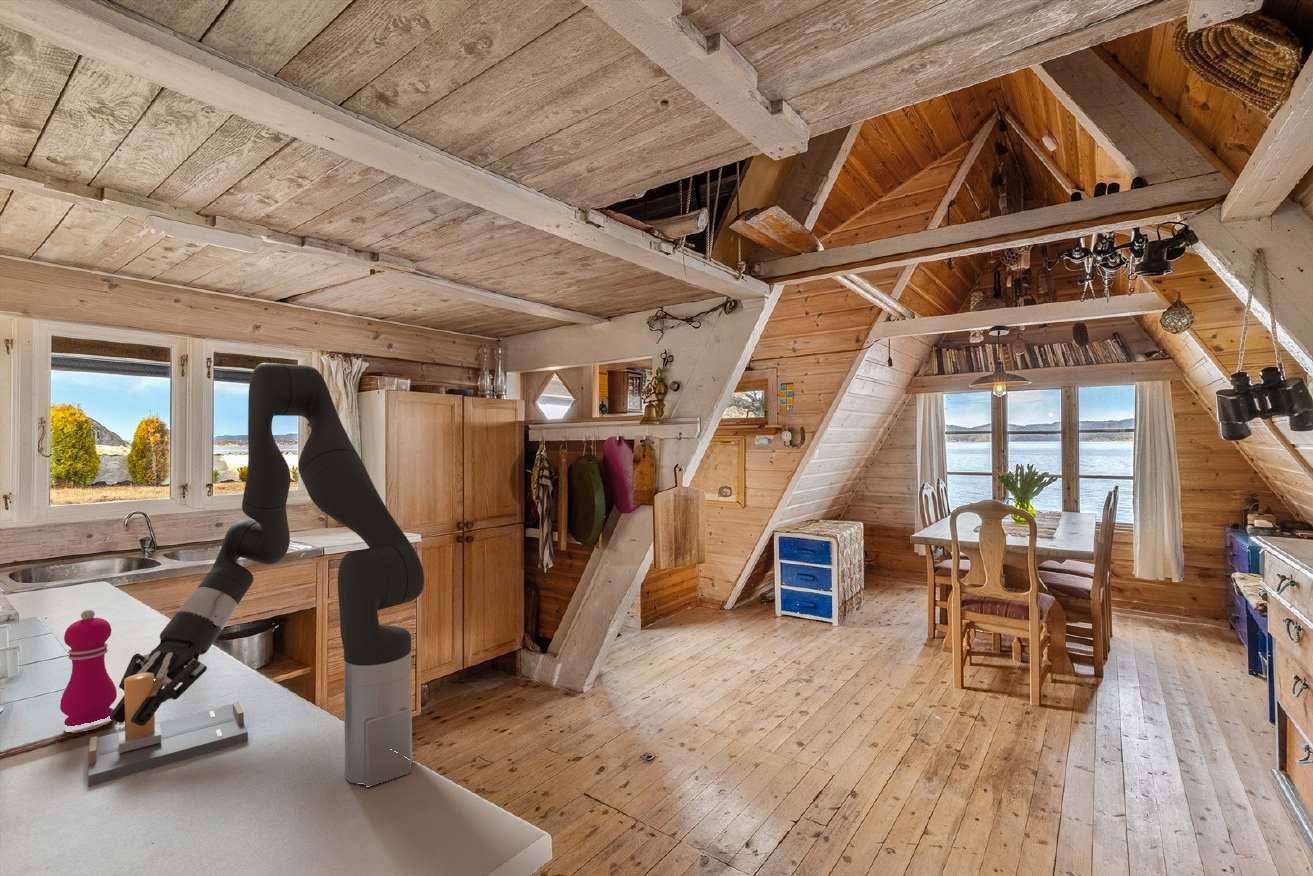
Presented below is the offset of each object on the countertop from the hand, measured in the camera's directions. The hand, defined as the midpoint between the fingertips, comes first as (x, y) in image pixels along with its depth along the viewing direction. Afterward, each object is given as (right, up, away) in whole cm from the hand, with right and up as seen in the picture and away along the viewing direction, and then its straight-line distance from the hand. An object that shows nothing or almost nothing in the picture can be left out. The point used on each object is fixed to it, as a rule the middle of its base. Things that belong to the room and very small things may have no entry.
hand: (126, 721), depth 95 cm
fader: (0, -4, +2) cm, 5 cm away
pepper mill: (-16, -6, +11) cm, 21 cm away
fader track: (+3, -6, +5) cm, 8 cm away
